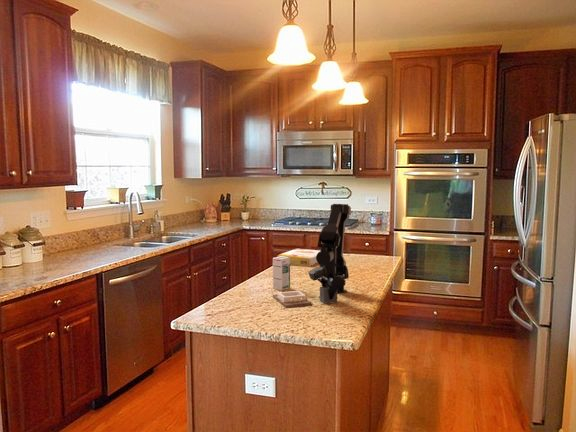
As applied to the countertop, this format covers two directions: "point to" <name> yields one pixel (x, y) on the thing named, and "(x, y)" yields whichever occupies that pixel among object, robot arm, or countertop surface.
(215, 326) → the countertop surface
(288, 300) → the socket board
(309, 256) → the cereal box
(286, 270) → the syrup box
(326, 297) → the plug block
